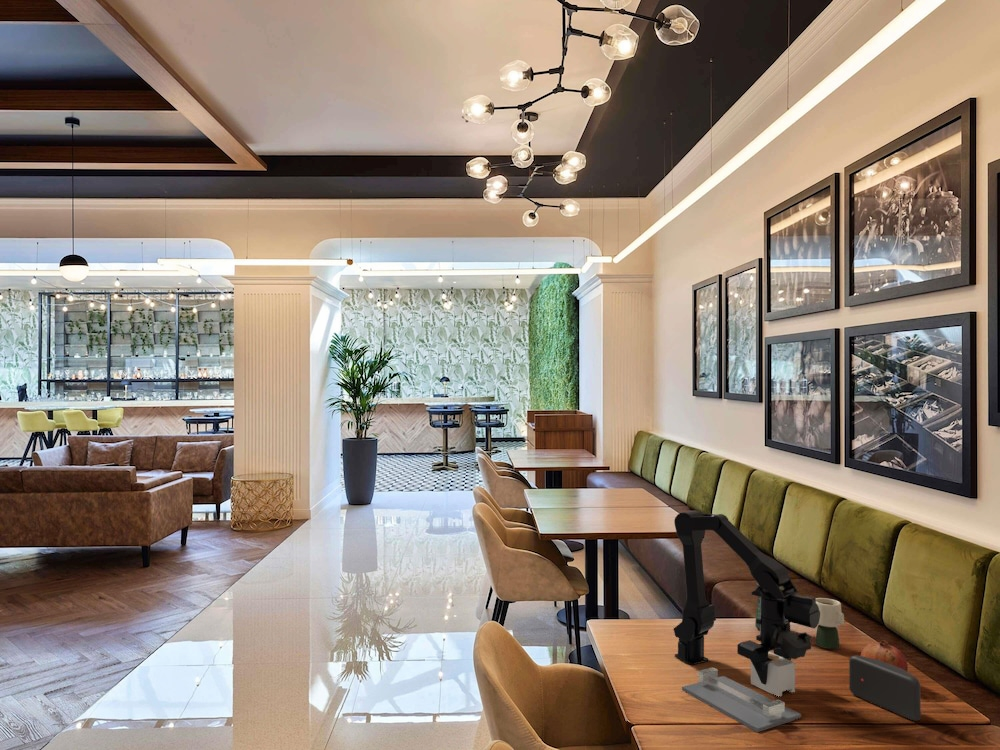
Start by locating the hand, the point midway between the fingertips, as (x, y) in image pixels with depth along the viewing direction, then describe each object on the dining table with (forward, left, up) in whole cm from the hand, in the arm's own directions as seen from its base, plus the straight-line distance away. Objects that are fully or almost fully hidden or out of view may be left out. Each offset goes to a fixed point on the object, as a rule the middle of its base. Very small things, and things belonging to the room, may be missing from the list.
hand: (772, 681), depth 157 cm
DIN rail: (+14, +2, -2) cm, 14 cm away
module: (0, 0, -2) cm, 2 cm away
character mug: (-37, -11, -2) cm, 39 cm away
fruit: (-29, +10, -2) cm, 31 cm away
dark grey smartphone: (-15, +18, -2) cm, 24 cm away
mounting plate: (+14, +2, -2) cm, 14 cm away
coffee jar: (-34, -27, -2) cm, 43 cm away
